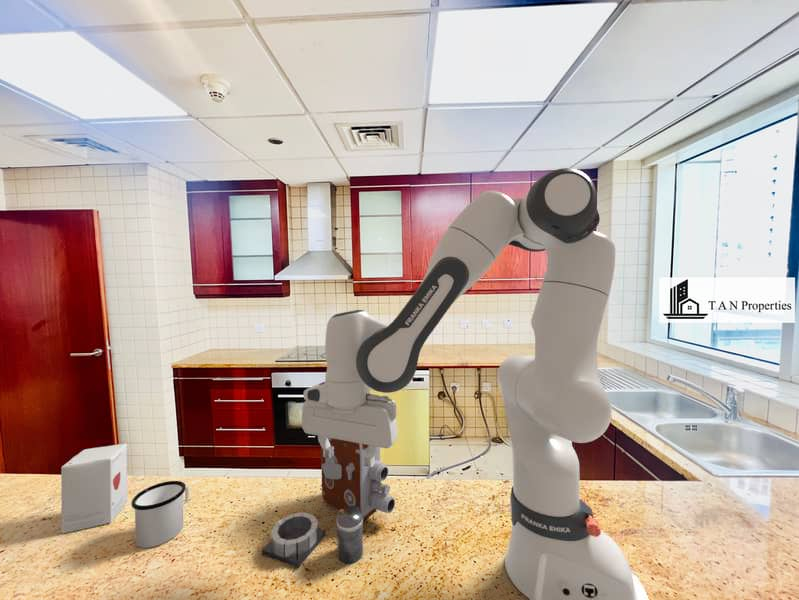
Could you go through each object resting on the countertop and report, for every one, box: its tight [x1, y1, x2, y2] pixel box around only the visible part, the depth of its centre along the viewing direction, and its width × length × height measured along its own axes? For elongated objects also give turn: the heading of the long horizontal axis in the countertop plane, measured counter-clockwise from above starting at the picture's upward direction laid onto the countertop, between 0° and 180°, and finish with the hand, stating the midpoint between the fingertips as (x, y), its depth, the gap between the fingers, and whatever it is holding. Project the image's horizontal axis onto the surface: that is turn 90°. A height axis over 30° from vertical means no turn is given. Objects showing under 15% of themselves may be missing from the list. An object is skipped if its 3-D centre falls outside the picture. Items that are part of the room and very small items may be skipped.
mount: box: [261, 511, 327, 569], centre depth 65 cm, size 9×9×4 cm
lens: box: [336, 506, 364, 565], centre depth 63 cm, size 5×5×8 cm
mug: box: [130, 480, 190, 549], centre depth 70 cm, size 12×10×9 cm
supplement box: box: [60, 443, 128, 534], centre depth 75 cm, size 9×9×15 cm
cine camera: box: [320, 437, 396, 521], centre depth 76 cm, size 9×19×20 cm, turn 53°
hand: (348, 460), depth 63 cm, fingers open, 8 cm apart
